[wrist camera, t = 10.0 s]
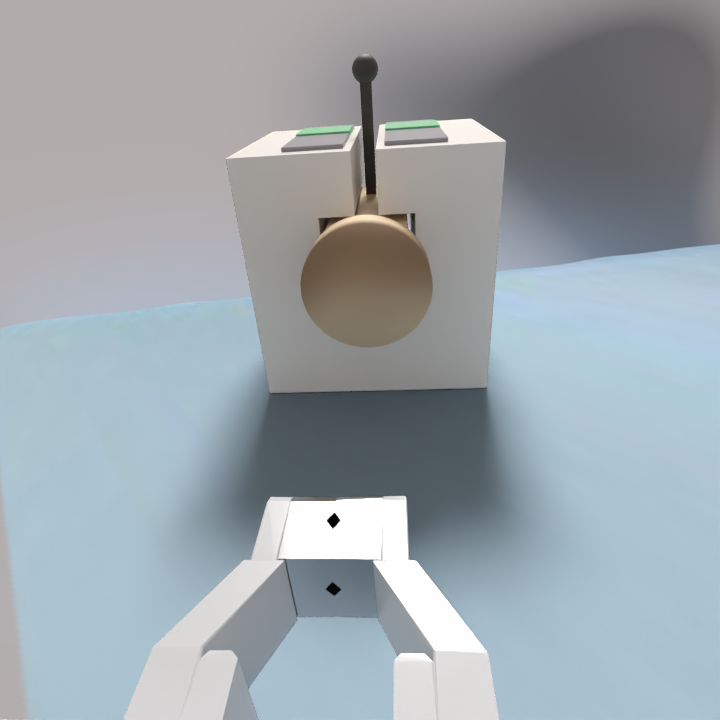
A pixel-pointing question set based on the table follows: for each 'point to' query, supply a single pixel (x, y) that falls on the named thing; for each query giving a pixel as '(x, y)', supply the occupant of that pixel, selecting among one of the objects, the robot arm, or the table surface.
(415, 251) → the peg
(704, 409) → the table surface
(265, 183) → the tuner housing
